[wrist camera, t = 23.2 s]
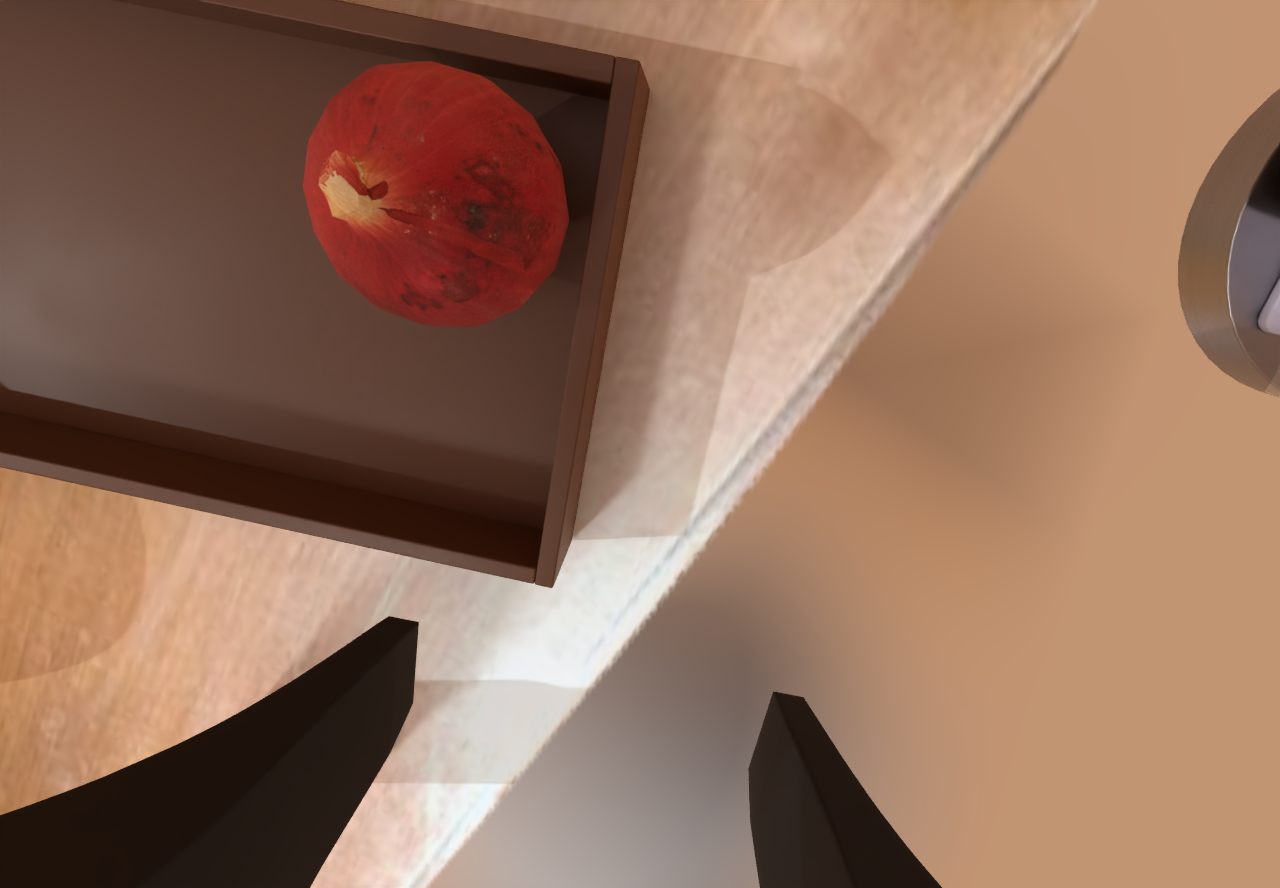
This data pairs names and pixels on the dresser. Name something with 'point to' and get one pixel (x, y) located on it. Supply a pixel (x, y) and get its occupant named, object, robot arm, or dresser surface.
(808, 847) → the robot arm
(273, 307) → the brown dish
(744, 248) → the dresser surface
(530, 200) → the pomegranate
